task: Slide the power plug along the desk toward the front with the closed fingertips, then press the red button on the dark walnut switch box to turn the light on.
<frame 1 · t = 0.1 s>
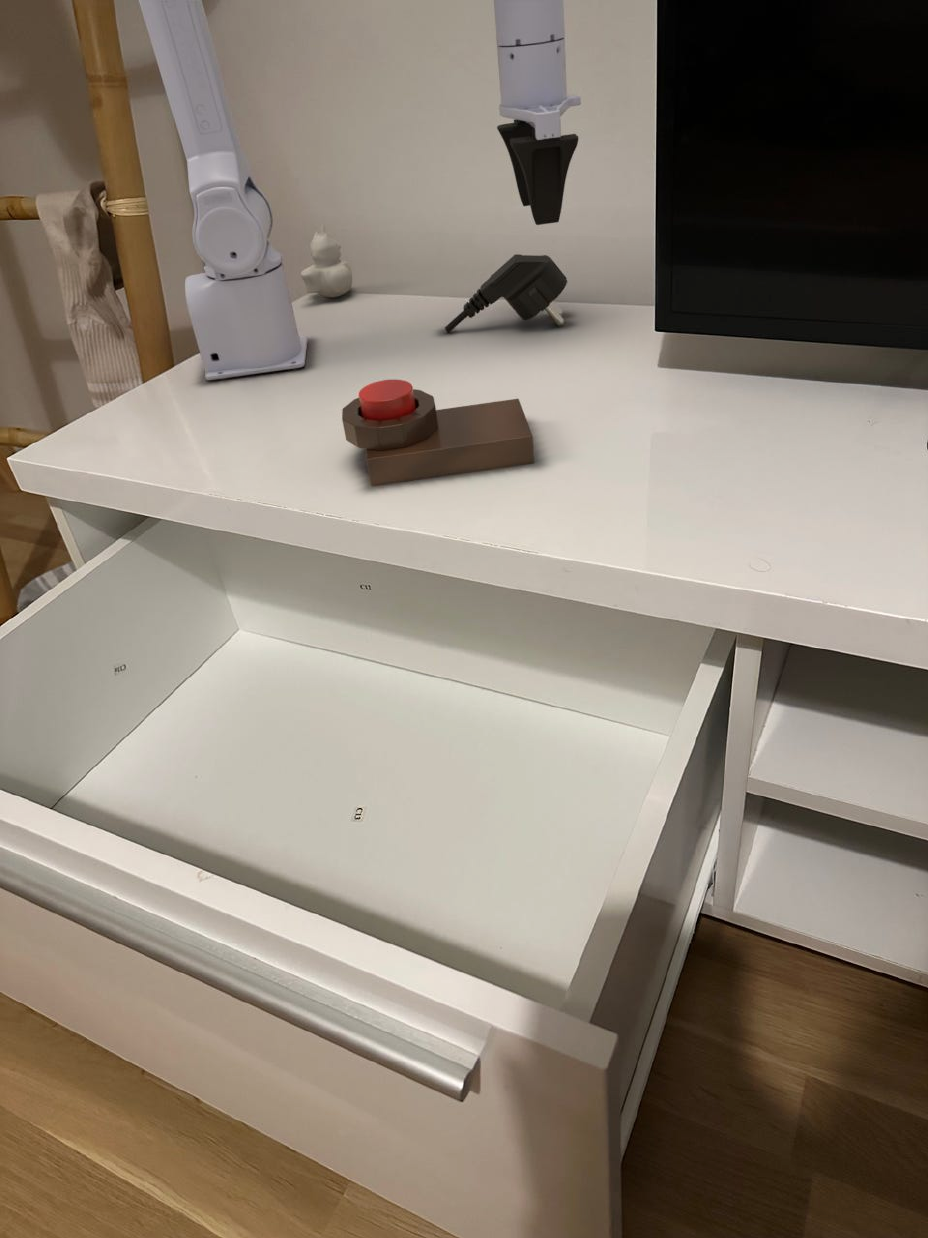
hand: (540, 213, 86), 10 cm above the table, tool pointing down, fingers open, 7 cm apart
switch box: (449, 454, 70), on the table
power plug: (506, 328, 91), on the table
light button: (387, 401, 68), point 4 cm above the table, slide at 0.1 cm
rubber duck: (330, 299, 106), on the table
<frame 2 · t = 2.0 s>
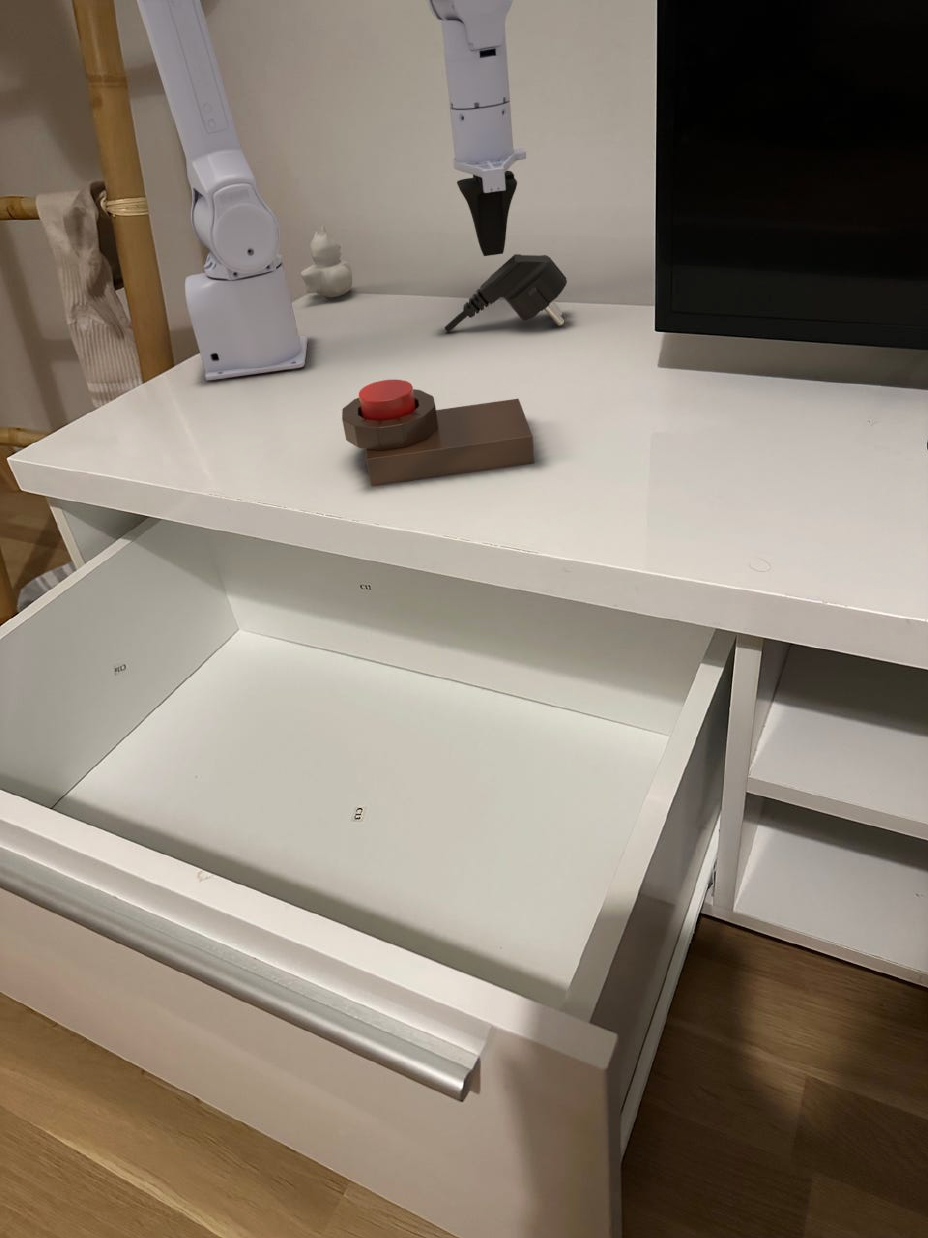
hand: (492, 253, 95), 5 cm above the table, tool pointing down, fingers closed
nothing on the table moved.
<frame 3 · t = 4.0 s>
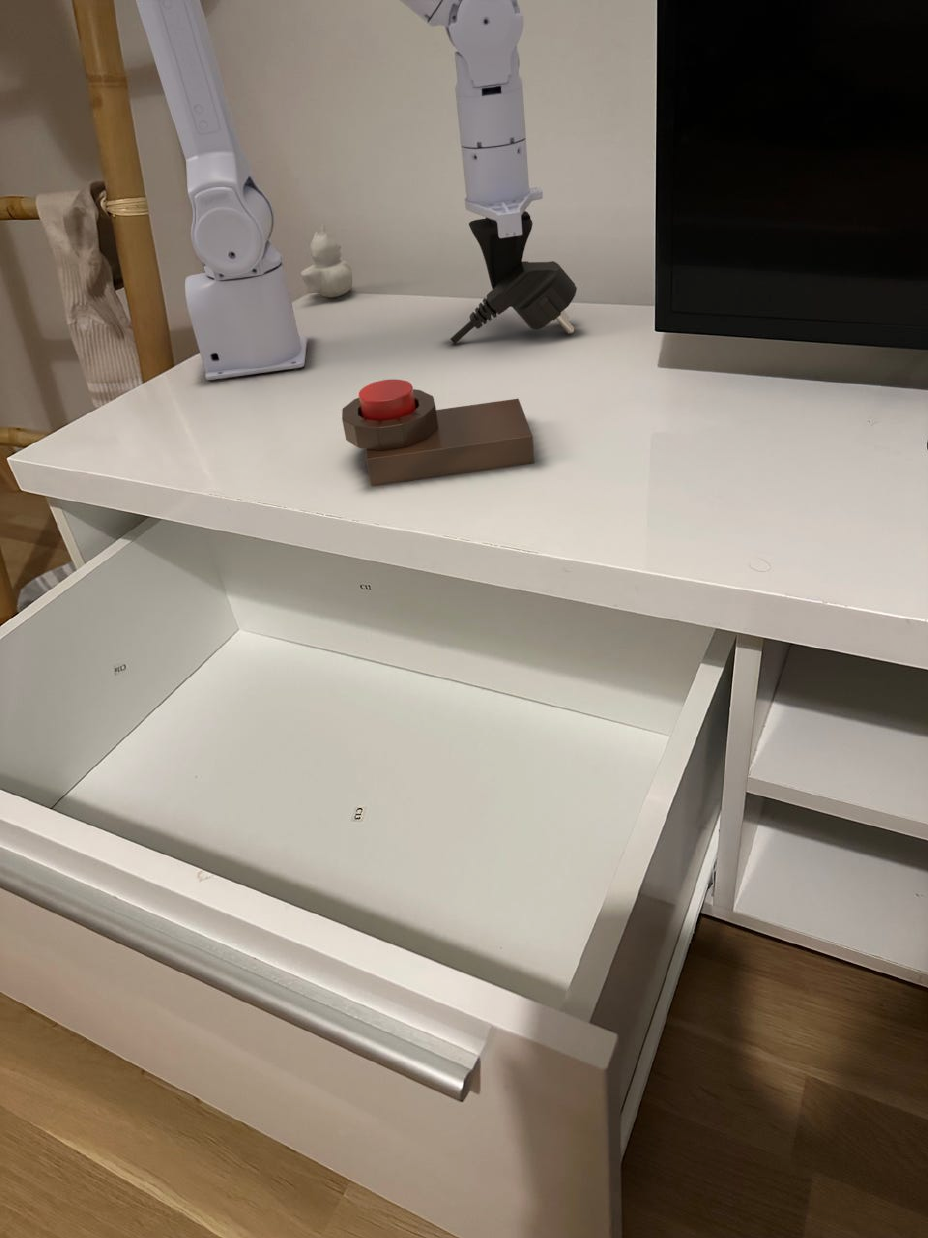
hand: (506, 297, 89), 3 cm above the table, tool pointing down, fingers closed, pressing on power plug
power plug: (514, 337, 89), on the table, touching gripper
everything else where it was.
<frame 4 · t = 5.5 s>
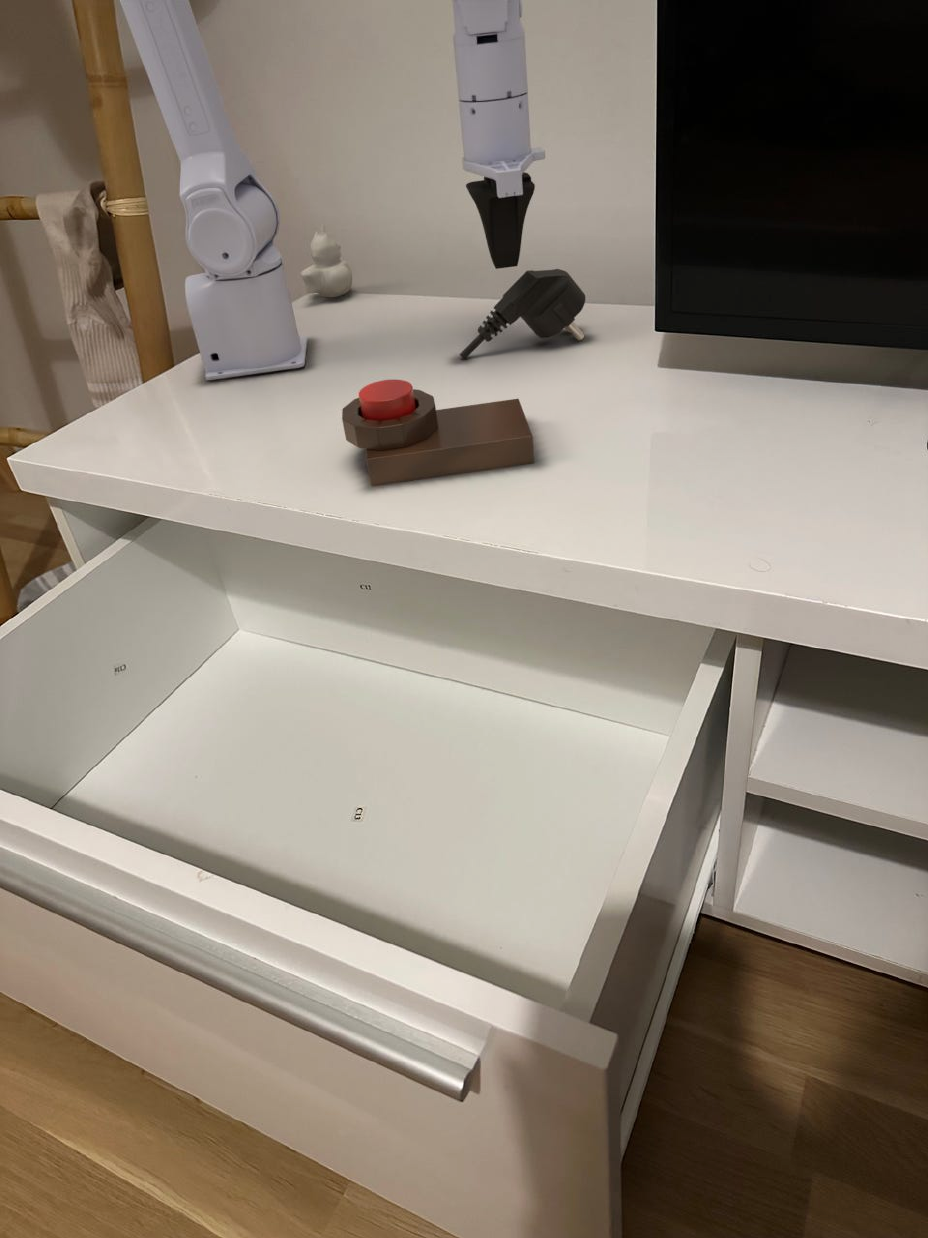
hand: (505, 265, 84), 7 cm above the table, tool pointing down, fingers closed
power plug: (522, 349, 86), on the table
everything else where it was.
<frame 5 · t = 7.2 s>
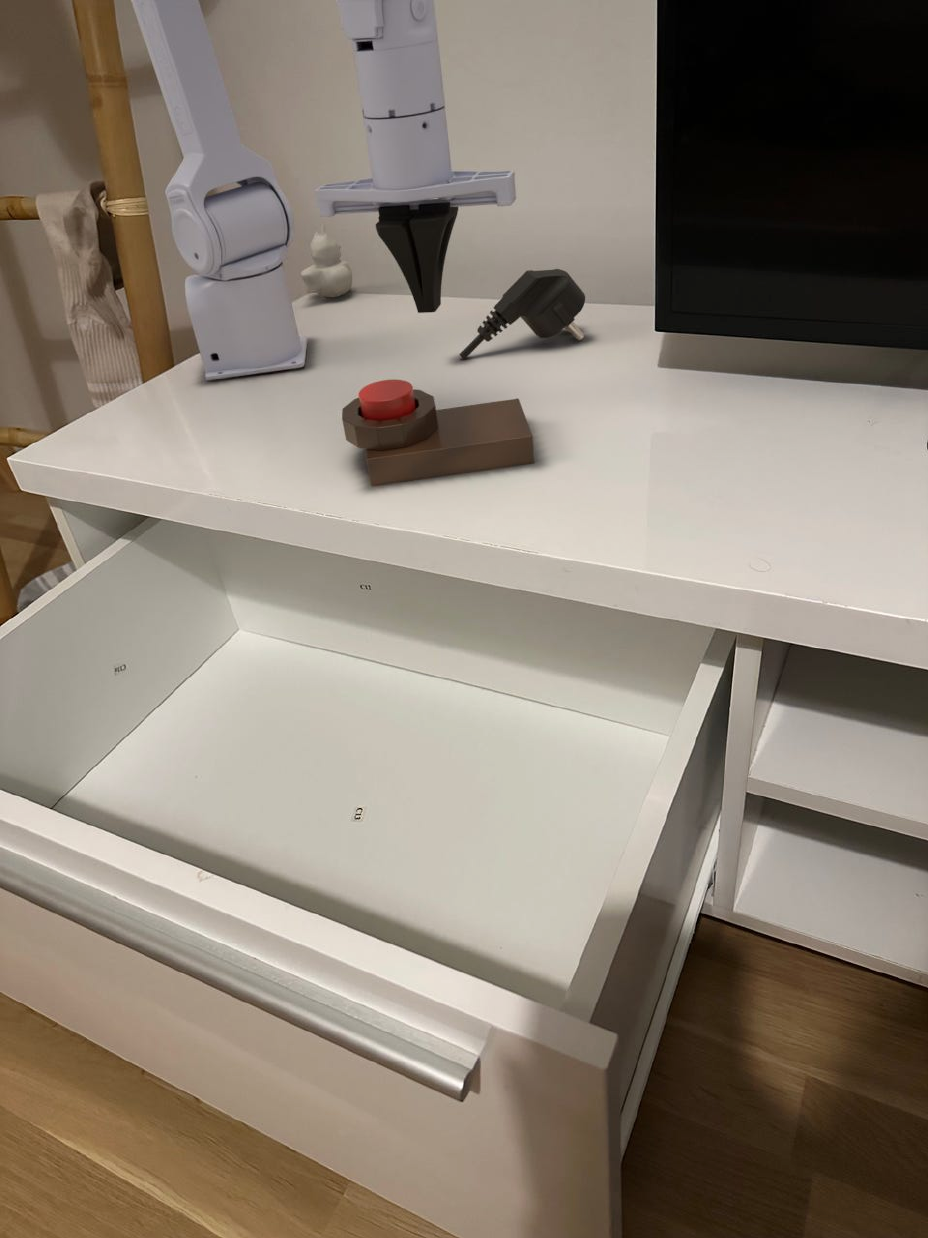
hand: (429, 308, 72), 8 cm above the table, tool pointing down, fingers closed
nothing on the table moved.
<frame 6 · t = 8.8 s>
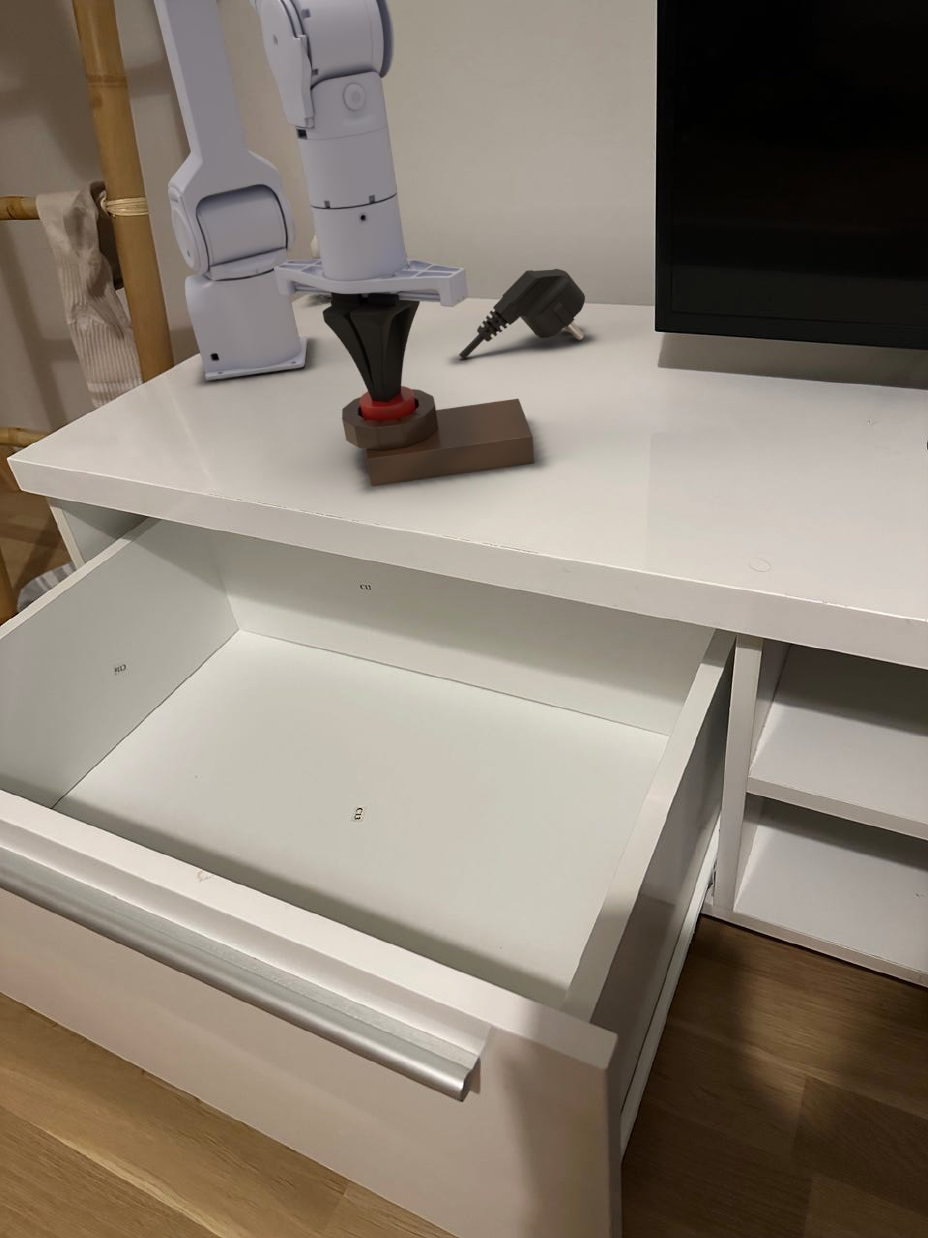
hand: (386, 396, 68), 5 cm above the table, tool pointing down, fingers closed, pressing on light button
light button: (388, 406, 68), point 4 cm above the table, slide at -0.4 cm, touching gripper
everything else where it was.
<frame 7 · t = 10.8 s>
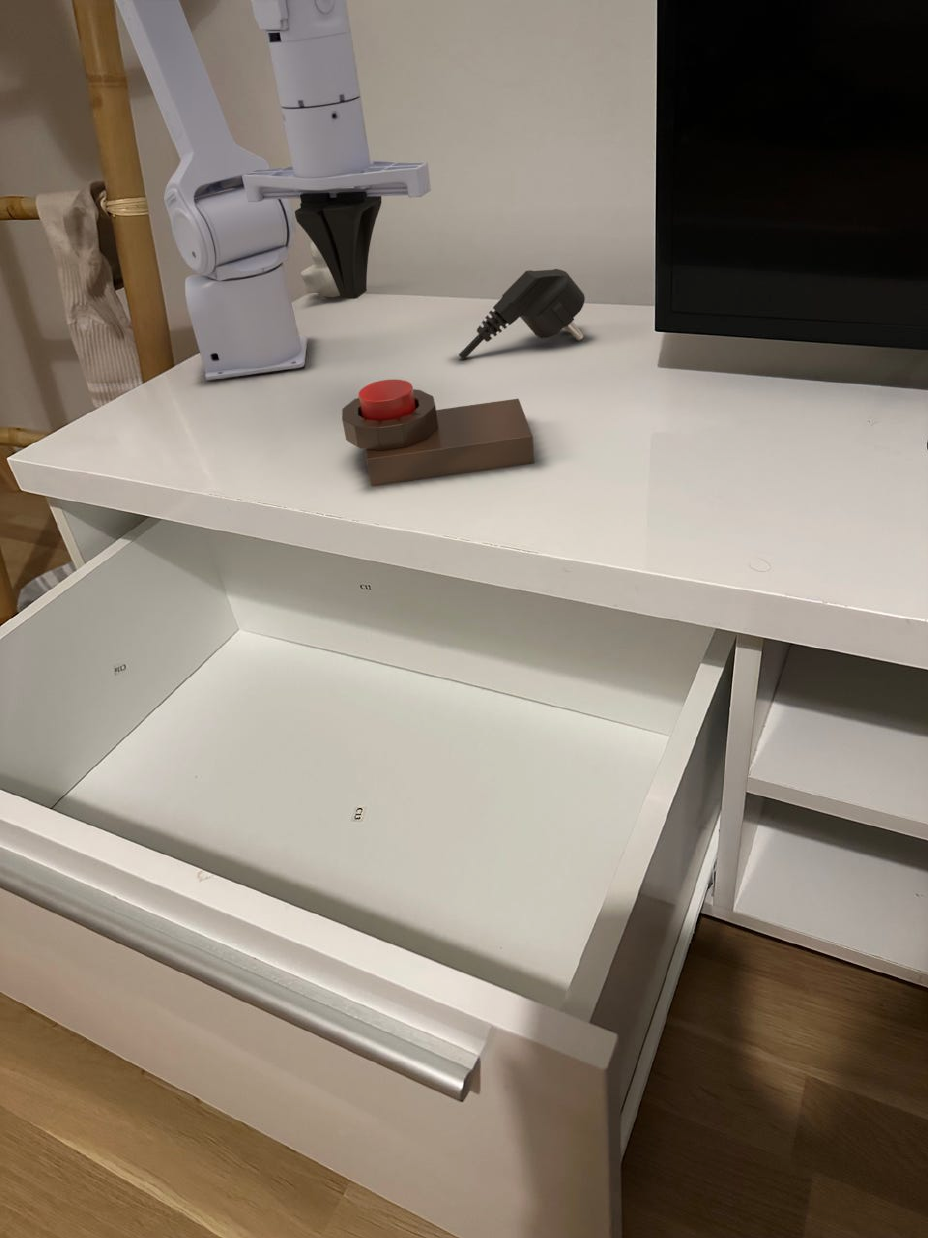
hand: (354, 294, 73), 9 cm above the table, tool pointing down, fingers closed
light button: (387, 401, 68), point 4 cm above the table, slide at 0.1 cm
everything else where it was.
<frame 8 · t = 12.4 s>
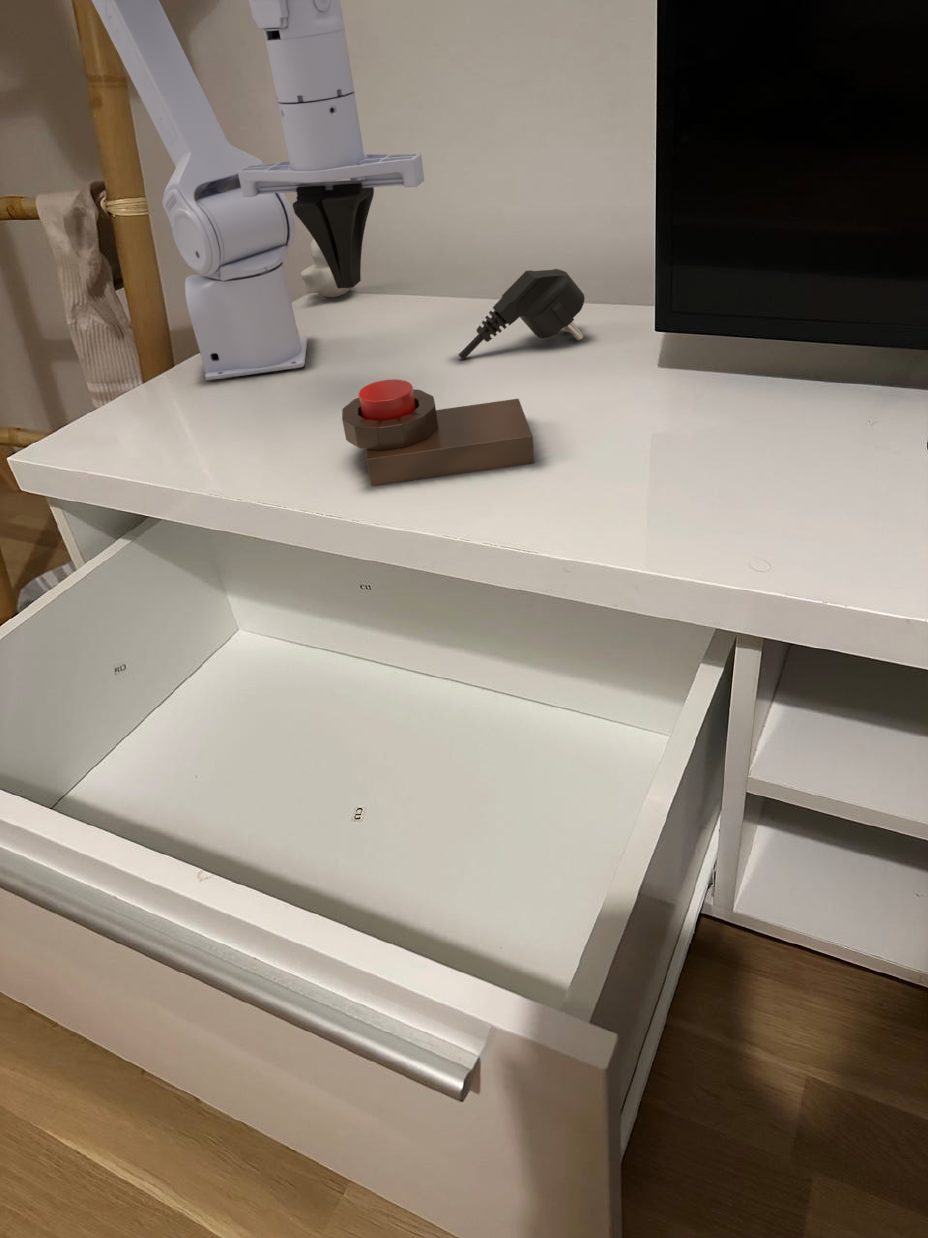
hand: (349, 284, 76), 9 cm above the table, tool pointing down, fingers closed
nothing on the table moved.
at the end: power plug inside the target area (1.9 cm from its centre), on the table; light button pushed in 1.2 cm at the most during the clip, back to where it started at the end; light button slide at 0.1 cm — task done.
